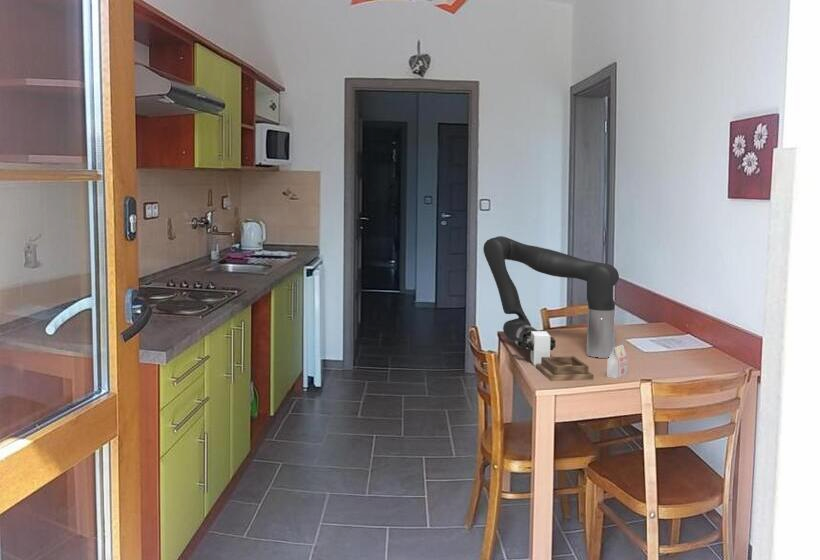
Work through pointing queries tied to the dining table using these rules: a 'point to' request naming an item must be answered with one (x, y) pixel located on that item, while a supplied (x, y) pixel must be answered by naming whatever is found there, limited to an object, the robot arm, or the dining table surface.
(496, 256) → the robot arm
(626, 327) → the dining table surface
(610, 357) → the milk carton
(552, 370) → the walnut cradle
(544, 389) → the dining table surface
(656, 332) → the dining table surface
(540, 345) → the small box
